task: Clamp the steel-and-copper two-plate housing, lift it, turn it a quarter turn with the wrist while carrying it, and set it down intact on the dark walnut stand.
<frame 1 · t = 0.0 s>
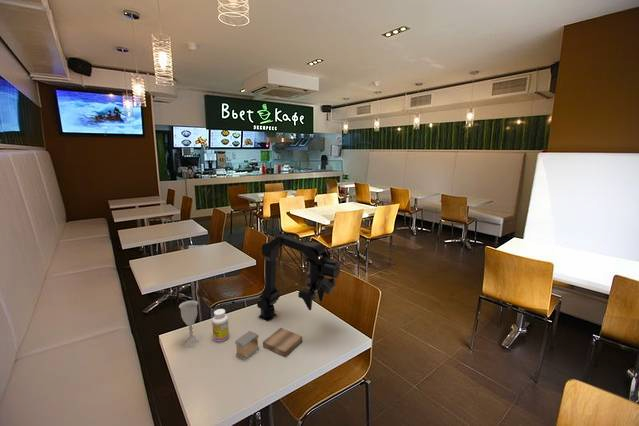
hand: (315, 305, 131), 15 cm above the table, tool pointing down, fingers open, 9 cm apart
housing: (247, 352, 122), on the table
chalice: (192, 343, 128), on the table
supplement bottle: (221, 338, 131), on the table
walnut stand: (282, 344, 127), on the table
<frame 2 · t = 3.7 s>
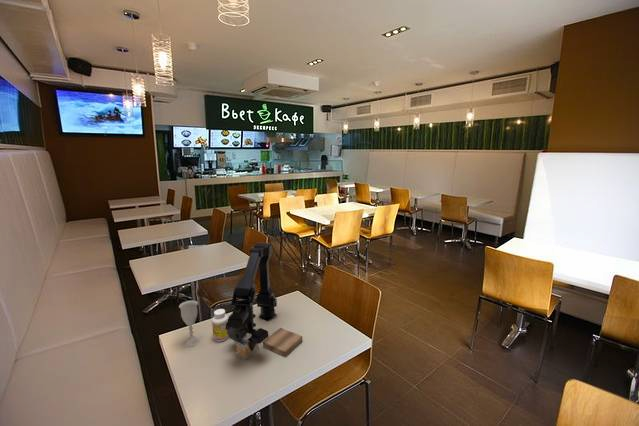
hand: (247, 348, 121), 2 cm above the table, tool pointing down, fingers closed on housing, 5 cm apart
housing: (247, 352, 122), on the table, touching gripper
everything else where it was.
when the fingers open (6 cm above the table, at t = 8.3 s): housing drops 1 cm, resting on walnut stand.
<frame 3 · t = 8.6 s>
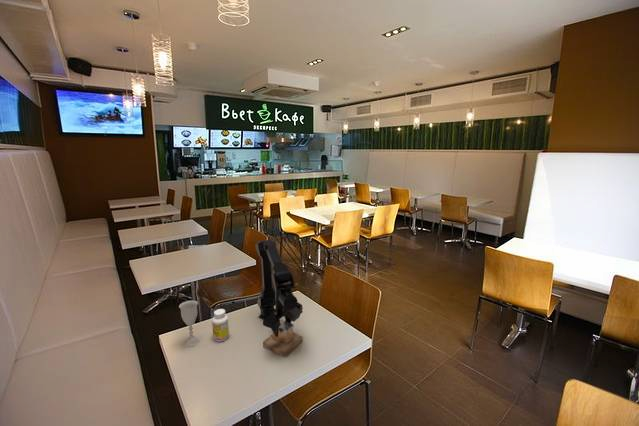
hand: (282, 331, 126), 6 cm above the table, tool pointing down, fingers open, 8 cm apart
housing: (282, 339, 127), point 2 cm above the table, touching walnut stand
everything else where it was.
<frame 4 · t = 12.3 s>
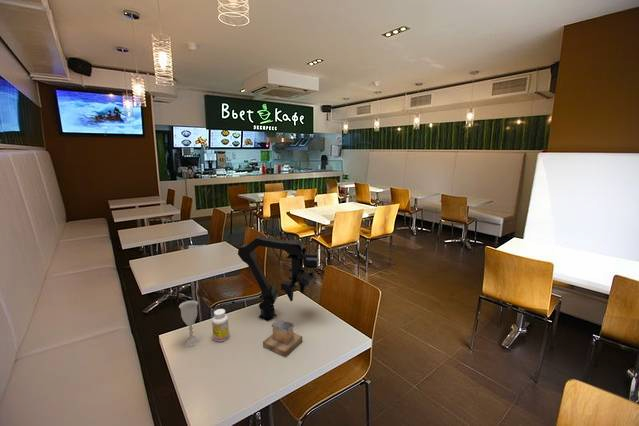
hand: (297, 296, 144), 12 cm above the table, tool pointing down, fingers open, 9 cm apart
nothing on the table moved.
at the end: housing inside the target area on the walnut stand (0.0 cm from its centre), point 2.5 cm above the walnut stand's base; housing tilted 0°; the gripper is holding nothing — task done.
